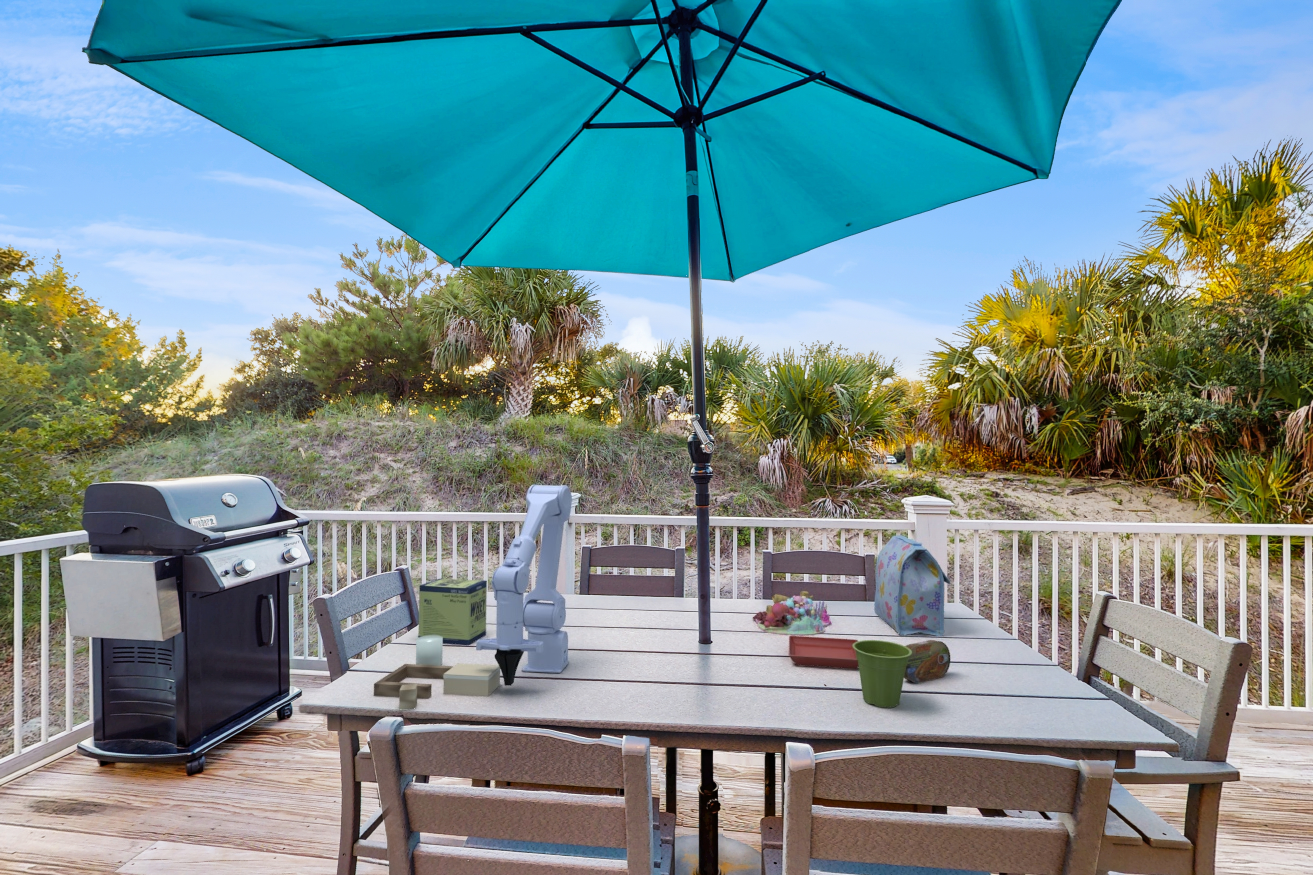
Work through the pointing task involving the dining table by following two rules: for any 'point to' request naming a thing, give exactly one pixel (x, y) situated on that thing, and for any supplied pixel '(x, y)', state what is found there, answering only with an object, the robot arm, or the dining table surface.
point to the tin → (927, 661)
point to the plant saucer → (823, 652)
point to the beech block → (408, 696)
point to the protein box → (453, 610)
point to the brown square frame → (392, 681)
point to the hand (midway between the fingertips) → (509, 683)
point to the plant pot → (881, 670)
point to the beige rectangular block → (471, 679)
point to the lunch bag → (910, 588)
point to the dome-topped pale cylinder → (429, 650)
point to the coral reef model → (793, 616)
